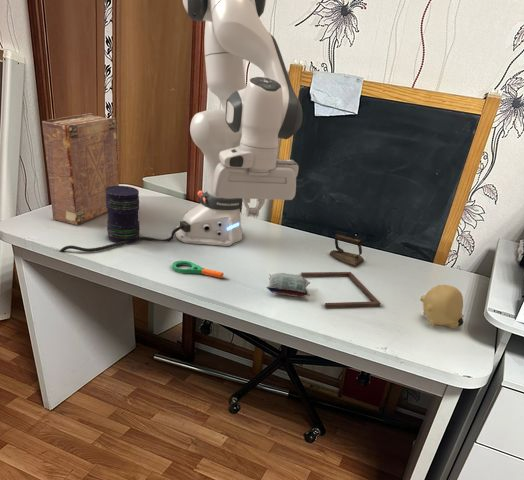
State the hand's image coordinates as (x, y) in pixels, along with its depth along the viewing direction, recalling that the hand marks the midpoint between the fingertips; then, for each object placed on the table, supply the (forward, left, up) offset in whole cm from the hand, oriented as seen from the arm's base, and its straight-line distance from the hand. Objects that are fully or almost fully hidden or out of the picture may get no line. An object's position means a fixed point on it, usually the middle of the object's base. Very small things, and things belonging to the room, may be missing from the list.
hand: (251, 215), depth 123 cm
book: (-40, +63, -21) cm, 77 cm away
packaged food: (+12, 0, -21) cm, 25 cm away
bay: (+28, 0, -21) cm, 35 cm away
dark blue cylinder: (-30, +39, -21) cm, 53 cm away
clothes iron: (+39, +22, -21) cm, 50 cm away
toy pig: (+48, -20, -21) cm, 57 cm away
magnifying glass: (-11, +13, -21) cm, 27 cm away
